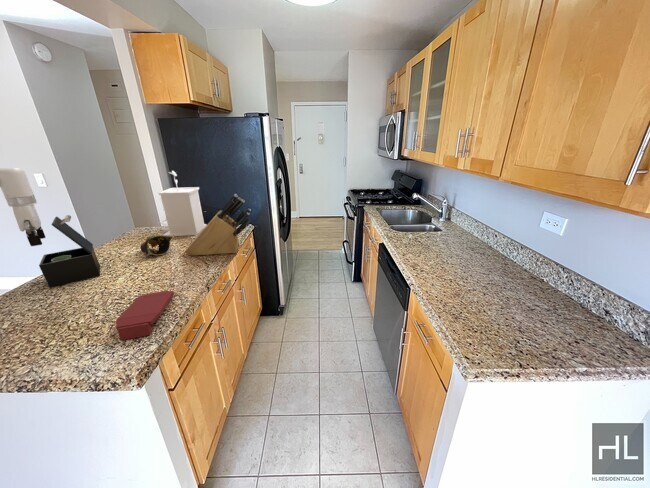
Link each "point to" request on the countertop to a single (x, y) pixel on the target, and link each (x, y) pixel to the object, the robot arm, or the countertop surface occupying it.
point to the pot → (156, 240)
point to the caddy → (69, 267)
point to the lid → (72, 233)
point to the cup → (61, 258)
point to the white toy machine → (182, 210)
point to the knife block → (221, 231)
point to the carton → (142, 315)
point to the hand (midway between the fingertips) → (38, 241)
